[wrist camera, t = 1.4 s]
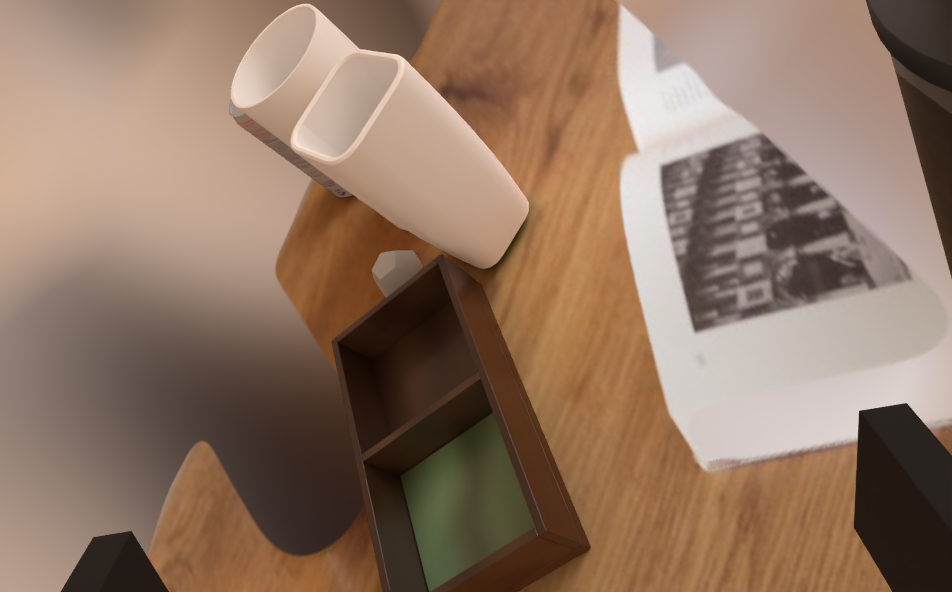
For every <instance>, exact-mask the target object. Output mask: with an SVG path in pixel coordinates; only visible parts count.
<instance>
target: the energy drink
mask: <svg viewBox="0 0 952 592" xmlns="http://www.w3.org/2000/svg"><path fill="white" fill-rule="evenodd" d="M229 113H230V115H231V116H232V117H233V118H234V119H235V121H236V122H237V124H239V125H240V126H241V127H243V128H244V129H245V130H247V131H248V132H250V133H251V134H252V135H253V136H255V137H256V138H258V139H259V140H260V141H262V142H263V143H265V144H266V145H267V146H269V147H270V148H272V149H273V150H274V151H275V152H277V153H278V154H280V155H281V156H282V157H284V158H285V159H286V160H288V161H289V162H291V163H292V164H293V165H295V166H296V167H297V168H299V169H300V170H301V171H303V172H304V173H306V174H307V175H308V176H310V177H311V178H312V179H314V180H315V181H317V182H318V183H319V184H321V185H322V186H323V187H325V188H326V189H328V190H329V191H330V192H332V193H333V194H334V195H336V196H338V197H349V196H352V194H351V193H350V192H348V191H347V190H345V189H344V188H343V187H341V186H340V185H338V184H337V183H336V182H334V181H333V180H331V179H330V178H329V177H327V176H326V175H325V174H323V173H322V172H321V171H319V170H318V169H317V168H315V167H314V166H313V165H311V164H310V163H309V162H307V161H306V160H305V159H303V158H302V157H301V156H299V155H298V154H297V153H295V152H294V151H293V150H292V149H291V148H290V147H289V146H288V145H286V144H285V143H284V142H282V141H281V140H280V139H278V138H277V137H276V136H274V135H273V134H272V133H270V132H269V131H268V130H266V129H265V128H264V127H262V126H261V125H260V124H258V123H257V122H256V121H254V120H253V119H252V118H250V117H249V116H248V115H246V114H245V113H244V112H242V111H241V110H240V109H238V108H237V107H236V106H235V105H234V104H233V102H232V99H231V102H230V105H229Z"/></svg>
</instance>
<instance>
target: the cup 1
mask: <svg viewBox="0 0 952 592" xmlns="http://www.w3.org/2000/svg"><path fill="white" fill-rule="evenodd" d="M356 50H360V49H359V48H358V47H357V46H356V45H355V44H354V43H352V42H351V41H350V40H349V39H348V38H347V37H346V36H345V35H344V34H343V33H342V32H341V31H340V30H339V29H338V28H337V27H336V26H335V25H334V24H333V23H331V22H330V21H329V20H328V19H327V18H326V17H325V16H324V15H323V14H322V13H321V12H320V11H319V10H318V9H316V8H315V7H314V6H312V5H310V4H301V5H298V6H295V7H293V8H291V9H289V10H287V11H286V12H284V13H283V14H281V15H280V16H279V17H277V18H276V19H275V20H274V21H273V22H272V23H271V24H269V25H268V26H267V27H266V28H265V29H264V30H263V32H262V33H261V34H260V35H259V36H258V37H257V39H256V40H255V41H254V42H253V44H252V45H251V47H250V48H249V49H248V51H247V52H246V54H245V56H244V57H243V59H242V61H241V63H240V65H239V67H238V69H237V71H236V74H235V76H234V79H233V83H232V87H231V99H232V102H233V104H234V105H235V106H236V107H237V108H238V109H240V110H241V111H242V112H244V113H245V114H246V115H248V116H249V117H250V118H252V119H253V120H254V121H256V122H257V123H258V124H260V125H261V126H262V127H264V128H265V129H266V130H268V131H269V132H270V133H272V134H273V135H274V136H276V137H277V138H278V139H280V140H281V141H282V142H284V143H285V144H286V145H288V146H289V147H290V148H291V136H292V132H293V130H294V128H295V126H296V124H297V122H298V120H299V119H300V117H301V116H302V114H303V113H304V111H305V110H306V108H307V107H308V105H309V104H310V102H311V101H312V99H313V98H314V96H315V94H316V93H317V91H318V90H319V88H320V87H321V85H322V84H323V82H324V81H325V79H326V78H327V76H328V75H329V73H330V72H331V70H332V69H333V67H334V66H335V65H336V64H337V62H338V61H339V60H341V59H342V58H343V57H344V56H345V55H347V54H348V53H350V52H352V51H356ZM372 209H373V208H372ZM375 211H376V210H375ZM376 212H377V211H376ZM378 213H379V212H378ZM379 214H380V213H379ZM381 215H382V214H381ZM382 216H383V215H382ZM383 217H385V216H383ZM385 218H386V217H385ZM386 219H387V220H389V219H388V218H386ZM389 221H390V222H391V223H393V224H394V225H395V226H397V227H398V228H400V229H403V230H405V229H404V228H402V227H400V226H399V225H397V224H395V223H394V222H392V221H391V220H389Z"/></svg>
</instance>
